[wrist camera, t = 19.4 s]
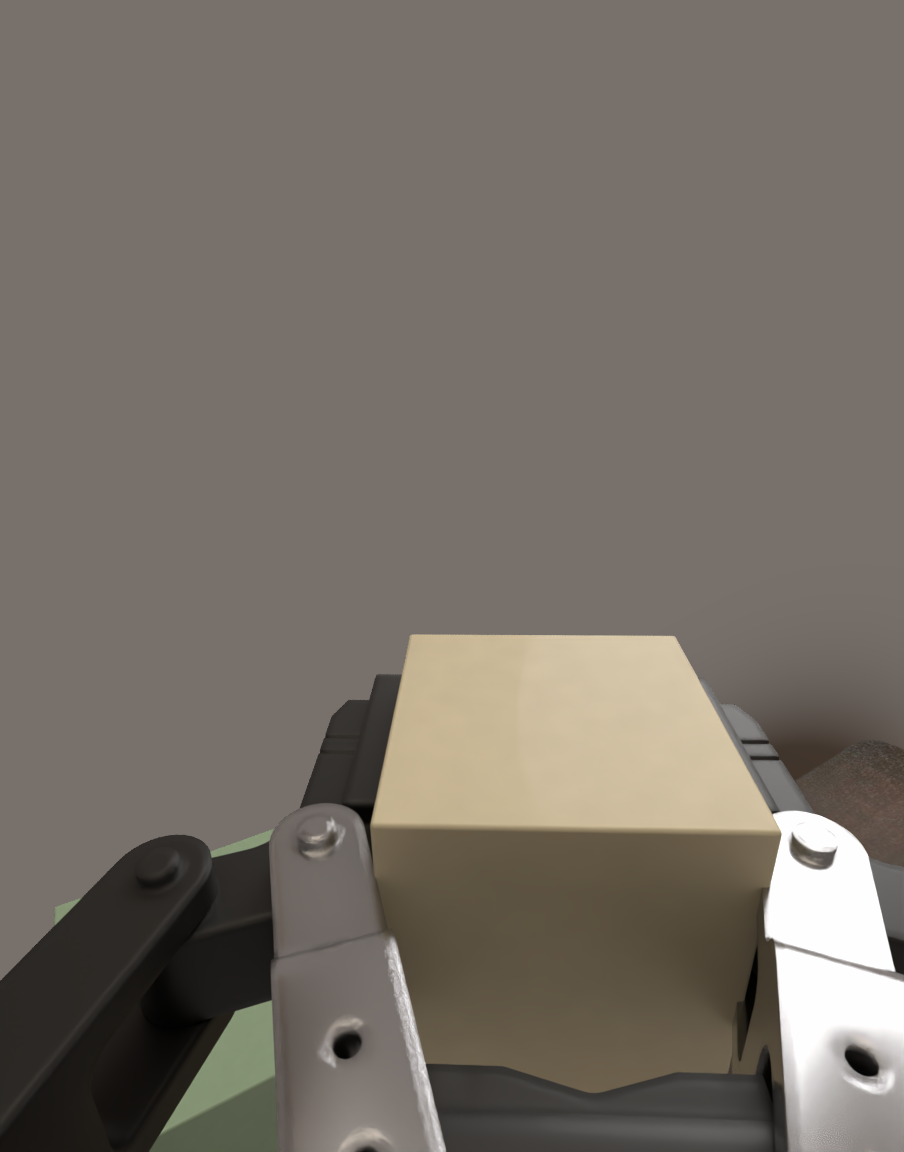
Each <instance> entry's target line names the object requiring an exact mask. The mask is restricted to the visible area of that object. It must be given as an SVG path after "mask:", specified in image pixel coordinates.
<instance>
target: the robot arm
mask: <svg viewBox="0 0 904 1152" xmlns="http://www.w3.org/2000/svg"><path fill="white" fill-rule="evenodd" d="M401 676H402V675H388V674H387V675H386V674H385V675H384V674H378V675H376V678H375V681H374V685H373V689H372V692H371V696H370V700H348V701H347V702H346V703H345V704H344V705H343V706H342V707H341V708H340V709H339V710H338V711H337V712H336V713H335V714H334V715H333V716H332V717H331V720H330V723H329V726H328V729H327V732H326V737H325V738H324V740H323V743H322V746H321V749H320V754H319V755H318V758H317V760H316V763H315V766H314V769H313V772H312V775H311V778H310V780H309V783H308V786H307V789H306V792H305V795H304V798H303V800H302V803H301V806H300V809H298V810H296V811H294V812H292V813H290V814H289V815H288V816H286V817H285V818H284V819H283V820H281V821H280V822H279V824H278V825H277V826H276V827H275V829H274V830H273V832H272V834H271V837H270V840H269V841H268V842H266V843H264V844H262V845H259V846H257V847H254V848H250V849H247V850H243V851H239V852H234V853H230V854H226V855H222V856H217V857H213V858H212V857H211V853H210V850H209V848H208V846H206V844H205V843H204V842H203V841H201V840H199V839H197V838H195V837H192V836H186V835H170V836H164V837H159V838H157V839H153V840H150V841H148V842H146V843H143V844H141V845H139V846H138V847H136V848H134V849H133V850H131V851H130V852H128V853H127V854H126V855H125V856H123V857H122V858H121V859H120V860H119V861H118V862H117V863H116V864H115V865H114V866H113V867H112V868H111V869H110V870H109V871H108V872H107V873H106V874H105V875H104V876H103V877H102V878H101V879H100V880H99V881H98V882H97V883H96V884H95V885H94V886H93V887H92V888H91V889H90V890H89V891H88V892H87V893H86V895H84V896H83V897H82V898H81V899H80V900H79V902H78V903H77V904H76V905H75V906H74V907H73V908H72V909H71V910H70V911H69V912H68V913H67V914H66V915H65V916H64V917H63V918H62V919H61V920H60V921H59V922H58V923H57V924H56V925H55V926H54V927H53V928H52V929H51V930H50V931H49V932H48V933H47V934H46V935H45V936H44V937H43V938H42V939H41V940H40V941H39V942H38V943H37V944H36V945H35V946H34V947H33V948H32V950H30V952H28V953H27V954H26V955H25V956H24V957H23V958H22V960H21V961H20V962H19V963H18V964H17V965H16V966H15V967H14V968H13V969H12V970H11V971H10V972H9V973H8V974H7V975H6V976H5V977H4V978H3V979H2V980H1V981H0V1152H149V1151H150V1149H151V1148H152V1146H153V1144H154V1143H155V1141H156V1140H157V1138H158V1136H159V1135H160V1133H161V1132H162V1130H163V1128H164V1127H165V1125H166V1124H167V1122H168V1120H169V1119H170V1117H171V1115H172V1114H173V1112H174V1111H175V1109H176V1107H177V1106H178V1104H179V1103H180V1101H181V1099H182V1098H183V1096H184V1094H185V1093H186V1091H187V1090H188V1088H189V1086H190V1085H191V1083H192V1082H193V1080H194V1078H195V1077H196V1075H197V1073H198V1072H199V1070H200V1069H201V1067H202V1065H203V1064H204V1062H205V1061H206V1059H207V1057H208V1056H209V1054H210V1053H211V1051H212V1049H213V1048H214V1046H215V1044H216V1043H217V1041H218V1040H219V1038H220V1036H221V1035H222V1033H223V1032H224V1030H225V1028H226V1027H227V1025H228V1023H229V1022H230V1020H231V1019H232V1017H233V1015H234V1013H235V1011H238V1010H241V1009H244V1008H248V1007H251V1006H254V1005H258V1004H261V1003H265V1002H268V1001H271V1000H272V1016H273V1039H274V1063H275V1086H276V1109H277V1132H278V1152H904V867H900V866H896V865H892V864H888V863H884V862H881V861H877V860H875V859H872V858H869V857H868V855H867V853H866V851H865V849H864V847H863V846H862V844H861V843H860V842H859V841H858V840H857V839H856V838H855V837H854V836H853V835H852V834H851V833H850V832H849V831H847V830H846V829H845V828H843V827H842V826H840V825H838V824H837V823H835V822H833V821H831V820H829V819H826V818H824V817H821V816H818V815H815V813H814V812H813V810H812V809H811V807H810V805H809V804H808V802H807V801H806V799H805V797H804V796H803V794H802V793H801V791H800V789H799V788H798V786H797V785H796V783H795V781H794V780H793V778H792V777H791V775H790V773H789V772H788V770H787V769H786V767H785V766H784V764H783V762H782V761H779V756H778V754H777V753H776V751H775V749H774V748H773V746H772V745H771V744H769V740H768V738H767V737H766V735H765V733H764V732H763V730H762V729H761V727H760V726H759V724H758V722H757V721H756V720H755V719H753V718H752V717H751V716H749V715H748V714H747V713H745V712H744V711H742V710H741V709H740V708H739V707H738V706H736V705H735V704H720V703H719V701H718V700H717V698H716V696H715V694H714V693H713V691H712V689H711V688H710V685H709V684H708V682H707V680H706V679H705V678H702V677H697V678H698V679H699V681H700V683H701V685H702V687H703V689H704V690H705V692H706V694H707V696H708V698H709V700H710V701H711V703H712V705H713V707H714V709H715V711H716V712H717V714H718V716H719V718H720V720H721V722H722V723H723V725H724V727H725V729H726V731H727V732H728V734H729V736H730V738H731V740H732V742H733V743H734V745H735V747H736V749H737V751H738V753H739V754H740V756H741V758H742V760H743V762H744V764H745V765H746V767H747V769H748V771H749V773H750V775H751V776H752V778H753V780H754V782H755V784H756V785H757V787H758V789H759V791H760V793H761V795H762V796H763V798H764V800H765V802H766V804H767V806H768V807H769V809H770V811H771V813H772V815H773V817H774V818H775V820H776V822H777V824H778V826H779V828H780V829H781V832H782V838H781V842H780V846H779V851H778V855H777V860H776V864H775V868H774V873H773V877H772V881H771V886H770V887H763V888H762V892H761V897H760V901H759V906H758V910H757V915H756V920H757V947H756V951H755V956H754V960H753V965H752V969H751V973H750V978H749V982H748V986H747V991H746V995H745V1000H744V1001H742V1002H737V1005H736V1010H735V1014H734V1019H733V1023H732V1074H719V1073H689V1072H676V1073H672V1074H668V1075H665V1076H661V1077H657V1078H653V1079H650V1080H646V1081H642V1082H638V1083H635V1084H631V1085H627V1086H623V1087H620V1088H616V1089H612V1090H608V1091H605V1092H600V1093H588V1092H584V1091H581V1090H577V1089H574V1088H571V1087H568V1086H565V1085H561V1084H558V1083H555V1082H552V1081H549V1080H546V1079H542V1078H539V1077H536V1076H533V1075H530V1074H527V1073H523V1072H520V1071H517V1070H514V1069H511V1068H507V1067H504V1066H483V1065H454V1064H425V1060H424V1055H423V1051H422V1047H421V1043H420V1039H419V1034H418V1030H417V1026H416V1022H415V1018H414V1013H413V1009H412V1005H411V1001H410V996H409V992H408V988H407V984H406V980H405V975H404V971H403V967H402V963H401V959H400V954H399V950H398V946H397V942H396V938H395V935H394V932H393V930H392V928H390V929H388V926H387V922H386V918H385V914H384V909H383V905H382V901H381V896H380V892H379V888H378V883H377V879H376V878H375V876H374V866H373V854H372V842H371V830H370V824H371V819H372V814H373V810H374V805H375V800H376V795H377V791H378V786H379V781H380V776H381V771H382V767H383V762H384V757H385V752H386V748H387V743H388V738H389V733H390V728H391V724H392V719H393V714H394V709H395V705H396V700H397V695H398V690H399V685H400V681H401Z"/></svg>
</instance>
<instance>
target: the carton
mask: <svg viewBox="0 0 904 1152" xmlns="http://www.w3.org/2000/svg"><path fill="white" fill-rule="evenodd" d="M370 830H371V842H372V854H373V866H374V876H375V878H376V879H377V883H378V888H379V892H380V896H381V901H382V905H383V909H384V914H385V918H386V922H387V926H388V929H390V928H392V930H393V932H394V935H395V938H396V942H397V946H398V950H399V954H400V959H401V963H402V967H403V971H404V975H405V980H406V984H407V988H408V992H409V996H410V1001H411V1005H412V1009H413V1013H414V1018H415V1022H416V1026H417V1030H418V1034H419V1039H420V1043H421V1047H422V1051H423V1055H424V1060H425V1064H454V1065H483V1066H504V1067H507V1068H511V1069H514V1070H517V1071H520V1072H523V1073H527V1074H530V1075H533V1076H536V1077H539V1078H542V1079H546V1080H549V1081H552V1082H555V1083H558V1084H561V1085H565V1086H568V1087H571V1088H574V1089H577V1090H581V1091H584V1092H588V1093H600V1092H605V1091H608V1090H612V1089H616V1088H620V1087H623V1086H627V1085H631V1084H635V1083H638V1082H642V1081H646V1080H650V1079H653V1078H657V1077H661V1076H665V1075H668V1074H672V1073H676V1072H689V1073H719V1074H728V1070H729V1065H730V1061H731V1056H732V1023H733V1019H734V1014H735V1010H736V1005H737V1002H742V1001H744V1000H745V995H746V991H747V986H748V982H749V978H750V973H751V969H752V965H753V960H754V956H755V951H756V947H757V920H756V915H757V910H758V906H759V901H760V897H761V892H762V888H763V887H770V886H771V881H772V877H773V873H774V868H775V864H776V860H777V855H778V851H779V846H780V842H781V838H782V832H781V829H780V828H779V826H778V824H777V822H776V820H775V818H774V817H773V815H772V813H771V811H770V809H769V807H768V806H767V804H766V802H765V800H764V798H763V796H762V795H761V793H760V791H759V789H758V787H757V785H756V784H755V782H754V780H753V778H752V776H751V775H750V773H749V771H748V769H747V767H746V765H745V764H744V762H743V760H742V758H741V756H740V754H739V753H738V751H737V749H736V747H735V745H734V743H733V742H732V740H731V738H730V736H729V734H728V732H727V731H726V729H725V727H724V725H723V723H722V722H721V720H720V718H719V716H718V714H717V712H716V711H715V709H714V707H713V705H712V703H711V701H710V700H709V698H708V696H707V694H706V692H705V690H704V689H703V687H702V685H701V683H700V681H699V679H698V678H697V676H696V674H695V672H694V670H693V668H692V667H691V665H690V663H689V661H688V659H687V658H686V656H685V654H684V652H683V650H682V648H681V647H680V645H679V643H678V641H677V639H676V638H675V637H674V636H566V635H565V636H563V635H553V636H552V635H549V636H548V635H411V636H410V638H409V643H408V647H407V652H406V657H405V662H404V667H403V671H402V676H401V681H400V685H399V690H398V695H397V700H396V705H395V709H394V714H393V719H392V724H391V728H390V733H389V738H388V743H387V748H386V752H385V757H384V762H383V767H382V771H381V776H380V781H379V786H378V791H377V795H376V800H375V805H374V810H373V814H372V819H371V824H370Z"/></svg>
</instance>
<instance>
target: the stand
mask: <svg viewBox="0 0 904 1152" xmlns="http://www.w3.org/2000/svg"><path fill="white" fill-rule="evenodd" d="M273 830H274V829H273ZM273 830H270V831H267V832H264V833H261V834H259V835H256V836H253V837H250V838H247V839H245V840H242V841H239V842H237V843H234V844H231V845H228V846H225V847H222V848H220V849H217V850H214V851H211V852H210V853H211V857H212V858H213V857H217V856H222V855H226V854H230V853H234V852H239V851H243V850H247V849H250V848H254V847H257V846H259V845H262V844H264V843H266V842H268V841H269V840H270V837H271V834H272V832H273ZM80 899H81V898H80ZM80 899H77V900H74V901H72V902H69V903H66V904H63V905H60V906H57V907H56V908H55V915H54V926H55V925H56V924H57V923H58V922H59V921H60V920H61V919H62V918H63V917H64V916H65V915H66V914H67V913H68V912H69V911H70V910H71V909H72V908H73V907H74V906H75V905H76V904H77V903H78V902H79V900H80ZM149 1152H278V1132H277V1109H276V1086H275V1063H274V1039H273V1016H272V1000H271V1001H268V1002H265V1003H261V1004H258V1005H254V1006H251V1007H248V1008H244V1009H241V1010H238V1011H235V1013H234V1015H233V1017H232V1019H231V1020H230V1022H229V1023H228V1025H227V1027H226V1028H225V1030H224V1032H223V1033H222V1035H221V1036H220V1038H219V1040H218V1041H217V1043H216V1044H215V1046H214V1048H213V1049H212V1051H211V1053H210V1054H209V1056H208V1057H207V1059H206V1061H205V1062H204V1064H203V1065H202V1067H201V1069H200V1070H199V1072H198V1073H197V1075H196V1077H195V1078H194V1080H193V1082H192V1083H191V1085H190V1086H189V1088H188V1090H187V1091H186V1093H185V1094H184V1096H183V1098H182V1099H181V1101H180V1103H179V1104H178V1106H177V1107H176V1109H175V1111H174V1112H173V1114H172V1115H171V1117H170V1119H169V1120H168V1122H167V1124H166V1125H165V1127H164V1128H163V1130H162V1132H161V1133H160V1135H159V1136H158V1138H157V1140H156V1141H155V1143H154V1144H153V1146H152V1148H151V1149H150V1151H149Z"/></svg>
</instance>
